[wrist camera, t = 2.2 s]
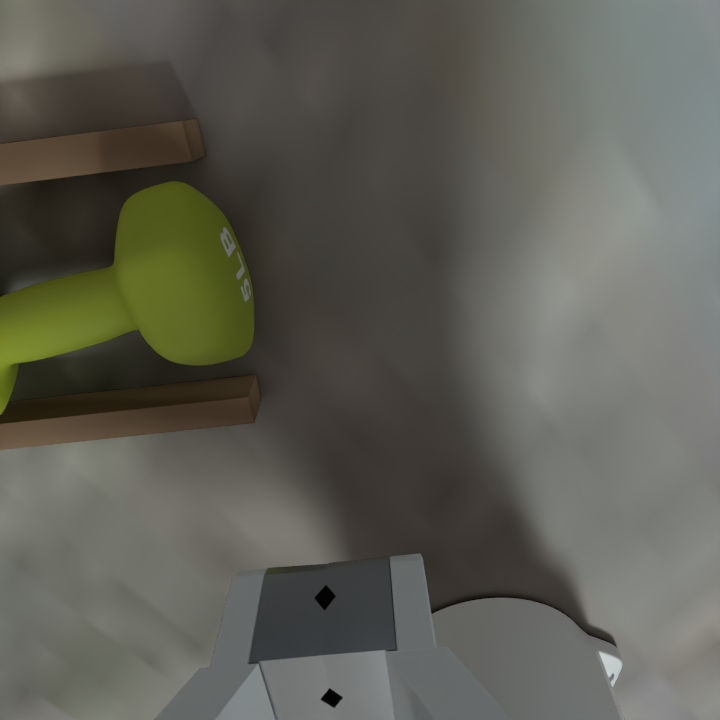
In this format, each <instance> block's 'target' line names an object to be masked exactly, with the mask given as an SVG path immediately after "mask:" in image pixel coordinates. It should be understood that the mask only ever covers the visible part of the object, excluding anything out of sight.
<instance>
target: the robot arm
mask: <svg viewBox="0 0 720 720" xmlns="http://www.w3.org/2000/svg"><path fill="white" fill-rule="evenodd" d="M622 666H623V663H622V659H621V657H620V654H619V651H618V649H617V648H616V647H615V646H614V645H612V644H611V643H608V642H606V641H603V640H601V639H598V638H595V637H592V636H589V635H588V634H586V633H585V632H584V631H583V630H581V629H580V628H579V627H578V625H577V624H576V623H575V622H574V621H572V620H571V619H570V618H569V617H568V616H566V615H565V614H563V613H562V612H560V611H558V610H556V609H554V608H552V607H550V606H547V605H544V604H541V603H538V602H534V601H529V600H524V599H516V598H486V599H478V600H472V601H467V602H463V603H459V604H456V605H453V606H449V607H447V608H444V609H442V610H439V611H437V612H435V613H433V614H431V608H430V601H429V595H428V589H427V582H426V576H425V569H424V563H423V558H422V556H421V554H420V553H419V554H409V555H399V556H390V560H389V556H388V557H379V558H370V559H360V560H351V561H342V562H332V563H329V564H316V565H302V566H288V567H274V568H267V569H253V570H239V571H236V573H235V575H234V576H233V578H232V580H231V584H230V588H229V592H228V596H227V600H226V604H225V608H224V612H223V616H222V619H221V623H220V627H219V631H218V635H217V639H216V643H215V647H214V651H213V655H212V659H211V663H210V667H209V668H201V669H199V670H198V671H197V672H196V673H195V674H194V675H193V677H192V678H191V679H190V680H189V681H188V682H187V683H186V685H185V686H184V687H183V688H182V689H181V690H180V691H179V692H178V694H177V695H176V696H175V697H174V698H173V699H172V700H171V701H170V703H169V704H168V705H167V706H166V707H165V708H164V709H163V711H162V712H161V713H160V714H159V715H158V716H157V717H156V718H155V720H625V719H624V716H623V714H622V711H621V709H620V706H619V703H618V701H617V698H616V695H615V693H614V690H613V686H614V684H615V682H616V679H617V677H618V675H619V673H620V671H621V669H622Z"/></svg>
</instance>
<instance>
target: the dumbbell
mask: <svg viewBox="0 0 720 720" xmlns="http://www.w3.org/2000/svg"><path fill="white" fill-rule="evenodd" d="M135 330H139V331H140V333H141V334H142V336H143V337H144V339H145V340H146V342H147V343H148V344H149V345H150V346H151V347H152V348H153V349H154V350H155V351H156V352H157V353H158V354H159V355H161V356H162V357H164V358H165V359H167V360H169V361H172V362H175V363H179V364H185V365H195V366H200V365H212V364H217V363H221V362H225V361H229V360H232V359H236V358H239V357H241V356H243V355H244V354H245V353H246V352H248V350H249V349H250V347H251V345H252V342H253V336H254V297H253V288H252V283H251V278H250V274H249V271H248V268H247V265H246V262H245V259H244V256H243V254H242V251H241V248H240V246H239V243H238V241H237V239H236V236H235V234H234V232H233V230H232V227H231V225H230V223H229V222H228V220H227V218H226V217H225V215H224V214H223V213H222V212H221V210H220V209H219V208H218V207H217V206H216V205H215V204H214V203H212V202H211V201H210V200H209V199H208V198H207V197H206V196H204V195H203V194H202V193H201V192H199V191H198V190H197V189H195V188H194V187H192V186H190V185H188V184H186V183H183V182H178V181H172V182H165V183H162V184H158V185H155V186H152V187H148V188H146V189H143V190H141V191H139V192H137V193H135V194H133V195H132V196H131V197H130V198H129V199H128V200H127V201H126V202H125V203H124V205H123V207H122V209H121V212H120V215H119V220H118V226H117V233H116V241H115V255H114V263H113V265H111V266H110V267H108V268H103V269H98V270H92V271H86V272H82V273H77V274H73V275H69V276H65V277H61V278H57V279H53V280H49V281H45V282H42V283H39V284H35V285H32V286H29V287H26V288H23V289H20V290H18V291H15V292H12V293H9V294H6V295H4V296H2V297H0V415H1V414H2V412H3V411H4V410H5V408H6V405H7V403H8V401H9V398H10V396H11V393H12V391H13V388H14V384H15V381H16V377H17V372H18V367H19V363H22V362H29V361H35V360H40V359H44V358H48V357H52V356H56V355H60V354H63V353H67V352H71V351H75V350H78V349H82V348H85V347H89V346H92V345H95V344H99V343H102V342H105V341H108V340H110V339H113V338H115V337H118V336H120V335H122V334H125V333H128V332H131V331H135Z"/></svg>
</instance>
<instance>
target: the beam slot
mask: <svg viewBox="0 0 720 720" xmlns="http://www.w3.org/2000/svg"><path fill="white" fill-rule="evenodd" d="M204 156H206V152H205V148H204V144H203V139H202V135H201V130H200V126H199V122H198V119H191V120H183V121H175V122H167V123H160V124H152V125H144V126H136V127H128V128H121V129H113V130H105V131H97V132H89V133H82V134H74V135H66V136H58V137H50V138H42V139H35V140H27V141H19V142H11V143H3V144H0V185H8V184H16V183H24V182H32V181H40V180H48V179H56V178H64V177H72V176H80V175H88V174H96V173H104V172H112V171H120V170H128V169H136V168H144V167H152V166H160V165H168V164H176V163H184V162H192V161H194V160H197V159H199V158H202V157H204ZM260 402H261V394H260V390H259V386H258V381H257V377H256V375H247V376H238V377H229V378H220V379H211V380H202V381H193V382H183V383H174V384H165V385H156V386H147V387H138V388H129V389H120V390H110V391H101V392H92V393H83V394H74V395H65V396H56V397H46V398H37V399H28V400H19V401H10V402H8V403H7V405H6V408H5V410H4V411H3V412H2V414H1V415H0V450H4V449H13V448H22V447H32V446H41V445H51V444H60V443H69V442H79V441H88V440H98V439H107V438H117V437H126V436H135V435H145V434H154V433H164V432H173V431H183V430H192V429H201V428H211V427H220V426H230V425H239V424H249V423H254V422H255V419H256V416H257V412H258V409H259V405H260Z"/></svg>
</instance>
